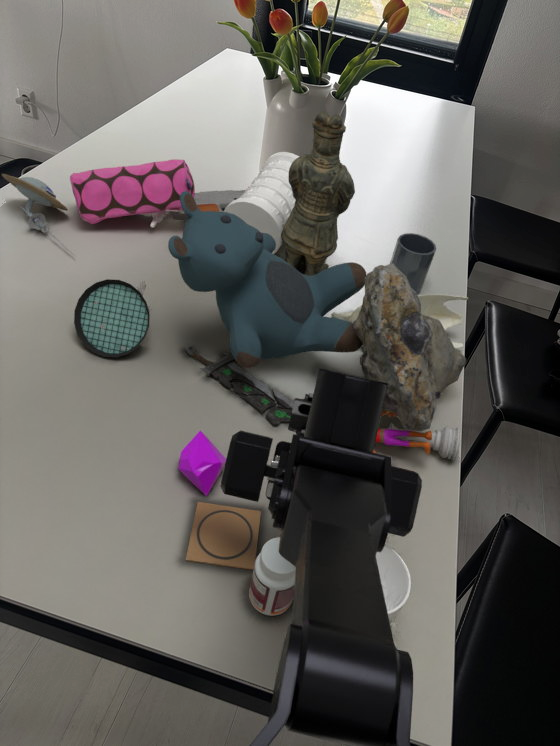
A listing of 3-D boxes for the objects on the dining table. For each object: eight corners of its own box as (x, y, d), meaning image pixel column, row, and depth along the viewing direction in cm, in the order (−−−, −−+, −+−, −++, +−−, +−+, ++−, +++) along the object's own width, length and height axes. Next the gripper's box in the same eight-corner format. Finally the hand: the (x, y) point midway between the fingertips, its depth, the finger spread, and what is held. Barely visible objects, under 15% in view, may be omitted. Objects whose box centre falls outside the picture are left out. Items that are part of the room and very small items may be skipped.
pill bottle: (294, 579, 68) (307, 538, 62) (289, 620, 64) (302, 581, 58) (252, 570, 68) (261, 529, 62) (244, 611, 64) (253, 571, 58)
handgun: (318, 220, 120) (284, 182, 129) (189, 233, 109) (162, 191, 118) (314, 236, 122) (281, 198, 131) (188, 251, 111) (162, 209, 120)
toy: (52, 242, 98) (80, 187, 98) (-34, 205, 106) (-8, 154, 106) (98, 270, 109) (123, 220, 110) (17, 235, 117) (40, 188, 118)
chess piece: (457, 453, 80) (381, 439, 82) (451, 464, 84) (378, 450, 85) (461, 423, 82) (386, 409, 83) (455, 435, 86) (383, 421, 87)
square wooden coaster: (254, 570, 68) (254, 568, 67) (185, 560, 67) (185, 558, 67) (260, 512, 73) (261, 510, 73) (197, 503, 73) (197, 501, 73)
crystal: (171, 475, 75) (173, 451, 72) (201, 450, 79) (203, 426, 76) (203, 499, 73) (206, 475, 70) (232, 472, 77) (236, 448, 74)
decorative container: (278, 266, 111) (313, 212, 122) (284, 213, 102) (321, 160, 113) (220, 246, 113) (259, 194, 124) (221, 193, 104) (263, 142, 115)
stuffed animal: (369, 382, 83) (251, 258, 63) (259, 405, 92) (125, 303, 72) (373, 250, 94) (274, 110, 75) (274, 282, 104) (163, 166, 84)
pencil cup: (422, 299, 111) (438, 257, 105) (385, 293, 110) (399, 250, 104) (418, 278, 116) (433, 236, 110) (383, 272, 115) (396, 230, 109)
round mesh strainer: (82, 266, 88) (99, 272, 94) (67, 348, 88) (84, 349, 94) (157, 281, 87) (169, 286, 93) (141, 364, 87) (154, 364, 94)
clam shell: (475, 285, 97) (468, 356, 100) (436, 274, 107) (430, 339, 111) (345, 292, 90) (343, 368, 94) (317, 280, 101) (316, 348, 104)
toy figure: (346, 407, 86) (344, 399, 84) (434, 418, 83) (435, 410, 80) (336, 462, 83) (334, 455, 80) (427, 475, 79) (427, 469, 77)
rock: (344, 364, 67) (488, 352, 64) (344, 239, 80) (465, 224, 77) (367, 474, 87) (478, 470, 84) (364, 360, 99) (461, 352, 96)
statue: (340, 274, 113) (382, 108, 92) (323, 300, 106) (364, 127, 86) (284, 254, 115) (313, 88, 94) (264, 278, 108) (290, 105, 88)
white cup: (378, 670, 62) (406, 626, 55) (303, 645, 62) (321, 598, 56) (388, 599, 67) (415, 552, 61) (319, 577, 68) (338, 527, 61)
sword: (337, 426, 85) (308, 451, 81) (207, 337, 95) (175, 355, 90) (338, 422, 85) (309, 448, 80) (207, 333, 94) (175, 352, 90)
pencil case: (187, 150, 106) (196, 209, 107) (192, 163, 115) (200, 217, 116) (62, 167, 105) (73, 226, 106) (78, 178, 114) (87, 232, 116)
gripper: (452, 426, 52) (415, 420, 68) (239, 376, 53) (251, 382, 69) (423, 555, 52) (393, 519, 67) (209, 503, 52) (228, 480, 68)
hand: (317, 472), depth 68 cm, fingers closed on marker, 3 cm apart
